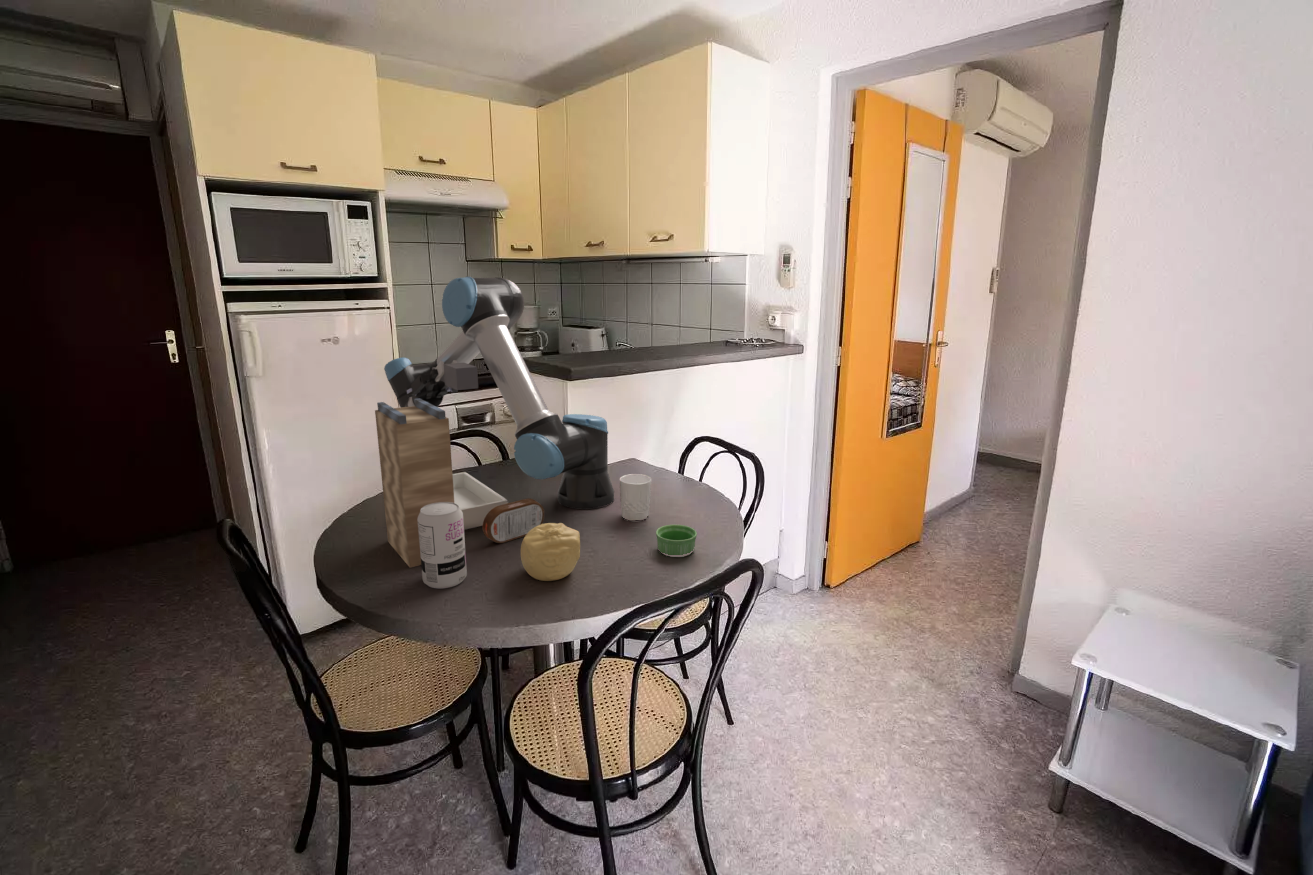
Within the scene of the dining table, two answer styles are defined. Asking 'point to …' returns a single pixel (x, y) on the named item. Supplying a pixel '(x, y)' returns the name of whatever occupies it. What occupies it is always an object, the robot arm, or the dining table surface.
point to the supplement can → (442, 545)
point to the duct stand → (412, 469)
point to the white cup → (635, 496)
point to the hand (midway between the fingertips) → (449, 365)
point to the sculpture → (550, 551)
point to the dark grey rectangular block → (460, 376)
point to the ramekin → (676, 539)
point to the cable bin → (474, 499)
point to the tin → (512, 520)
